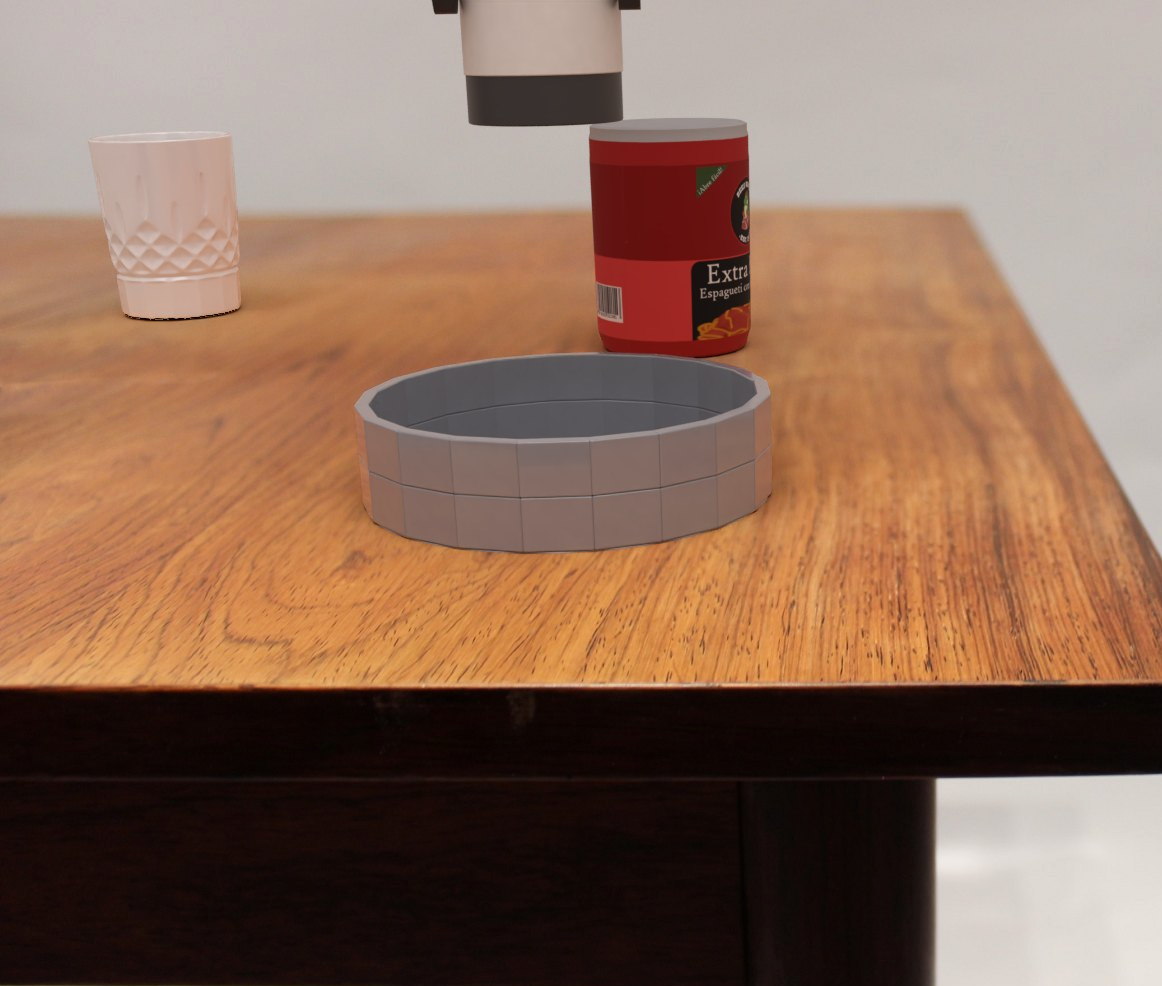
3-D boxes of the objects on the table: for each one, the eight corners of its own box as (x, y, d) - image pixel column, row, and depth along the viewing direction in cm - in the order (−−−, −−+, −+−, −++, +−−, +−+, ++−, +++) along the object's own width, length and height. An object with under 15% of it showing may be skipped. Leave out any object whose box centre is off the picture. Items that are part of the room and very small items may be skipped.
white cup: (244, 318, 96) (223, 138, 93) (101, 325, 95) (75, 143, 92) (257, 297, 103) (238, 129, 100) (125, 303, 102) (101, 133, 99)
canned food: (724, 363, 81) (719, 128, 78) (573, 356, 84) (561, 128, 80) (771, 334, 88) (768, 117, 84) (630, 328, 91) (621, 117, 87)
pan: (333, 574, 52) (320, 448, 50) (398, 459, 65) (389, 357, 64) (784, 560, 52) (783, 435, 51) (758, 449, 65) (757, 347, 64)
